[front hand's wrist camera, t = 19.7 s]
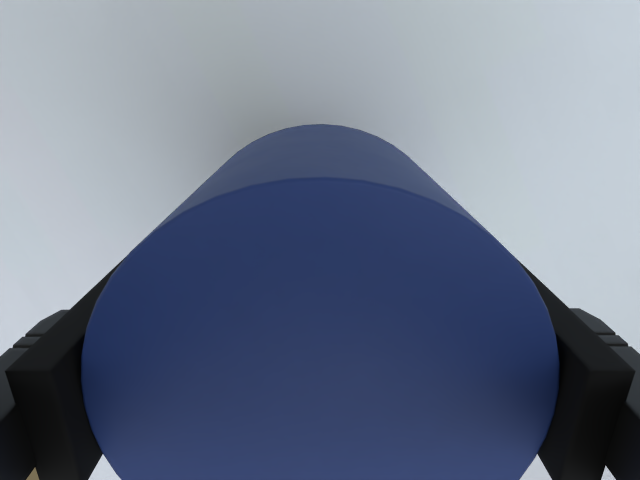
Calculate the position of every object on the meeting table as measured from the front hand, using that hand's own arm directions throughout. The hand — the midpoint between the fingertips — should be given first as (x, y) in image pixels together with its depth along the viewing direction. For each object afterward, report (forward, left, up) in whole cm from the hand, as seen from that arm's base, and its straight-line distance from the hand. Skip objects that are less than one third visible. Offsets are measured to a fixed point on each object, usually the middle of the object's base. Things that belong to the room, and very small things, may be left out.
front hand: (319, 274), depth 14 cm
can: (0, 0, -2) cm, 2 cm away
